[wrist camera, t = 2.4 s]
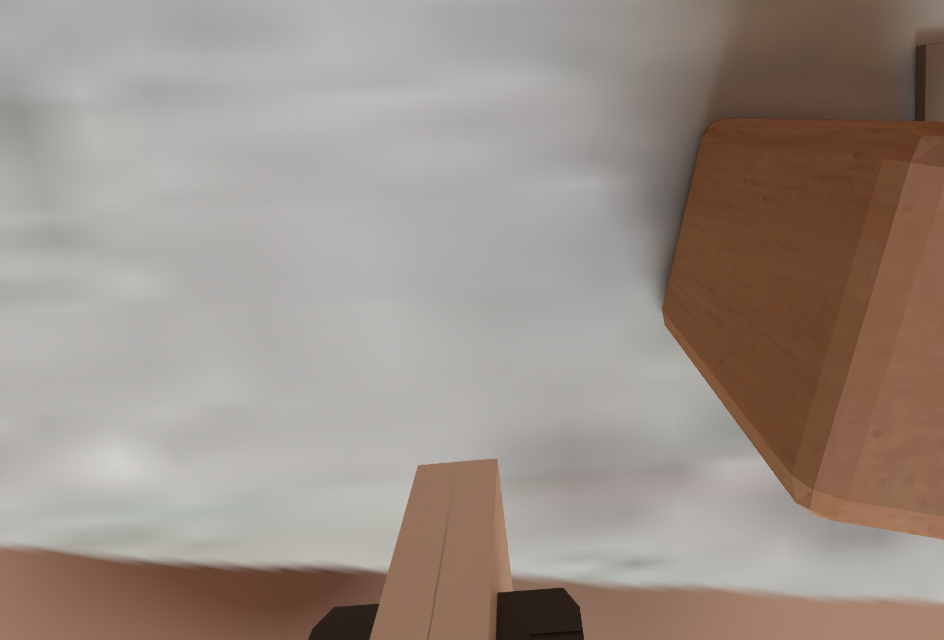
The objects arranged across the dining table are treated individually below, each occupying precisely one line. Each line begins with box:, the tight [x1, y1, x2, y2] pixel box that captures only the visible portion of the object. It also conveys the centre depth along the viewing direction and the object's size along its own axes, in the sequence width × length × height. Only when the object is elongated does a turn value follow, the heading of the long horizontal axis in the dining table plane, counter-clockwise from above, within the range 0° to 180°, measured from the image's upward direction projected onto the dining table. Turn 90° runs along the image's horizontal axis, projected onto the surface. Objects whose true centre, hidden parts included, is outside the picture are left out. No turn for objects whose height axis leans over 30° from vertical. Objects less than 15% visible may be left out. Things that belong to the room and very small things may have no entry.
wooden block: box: [662, 118, 944, 539], centre depth 28 cm, size 10×10×20 cm
